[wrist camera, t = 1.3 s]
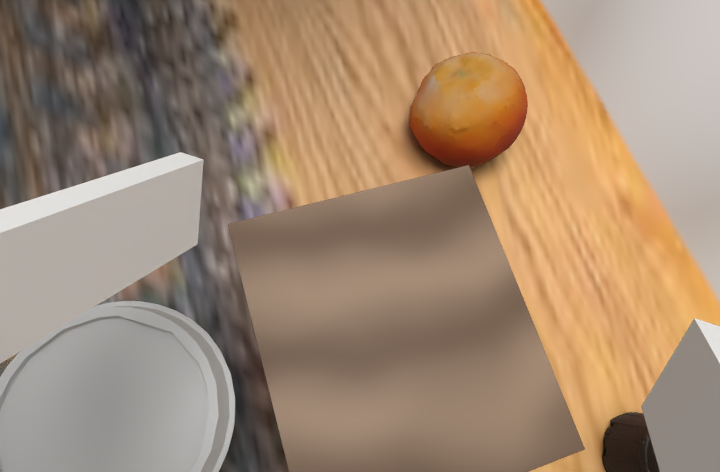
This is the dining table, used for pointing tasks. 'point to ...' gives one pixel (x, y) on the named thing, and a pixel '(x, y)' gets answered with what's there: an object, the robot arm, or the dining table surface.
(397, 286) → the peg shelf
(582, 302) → the dining table surface
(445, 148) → the fruit
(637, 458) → the butter churn
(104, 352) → the disposable coffee cup
